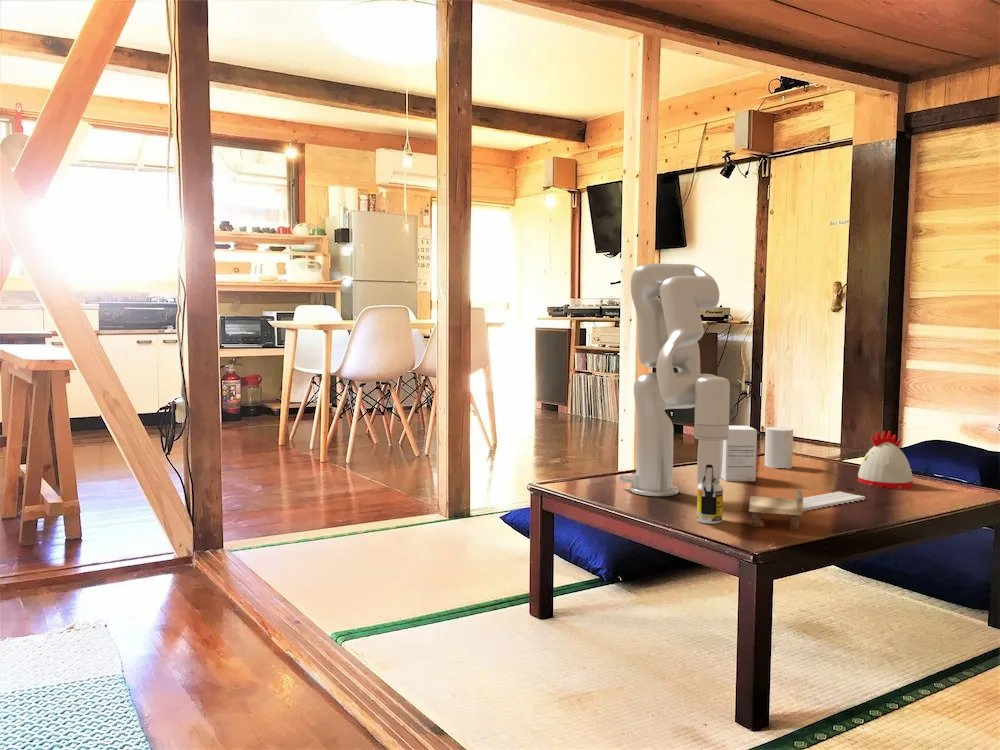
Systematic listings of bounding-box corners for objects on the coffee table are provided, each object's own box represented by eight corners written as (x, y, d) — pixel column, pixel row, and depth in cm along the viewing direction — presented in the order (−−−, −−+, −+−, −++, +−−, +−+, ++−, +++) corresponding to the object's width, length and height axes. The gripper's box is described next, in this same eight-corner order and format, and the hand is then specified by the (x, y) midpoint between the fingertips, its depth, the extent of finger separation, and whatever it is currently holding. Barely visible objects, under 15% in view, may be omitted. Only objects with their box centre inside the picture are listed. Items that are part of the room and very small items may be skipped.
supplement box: (716, 475, 237) (717, 425, 236) (746, 475, 237) (747, 425, 236) (724, 481, 228) (726, 429, 227) (756, 481, 228) (757, 429, 227)
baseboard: (753, 508, 197) (788, 517, 188) (754, 497, 196) (788, 505, 188) (830, 494, 213) (865, 502, 204) (831, 484, 213) (865, 491, 204)
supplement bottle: (715, 526, 177) (716, 480, 177) (692, 521, 181) (693, 477, 180) (726, 521, 182) (727, 476, 181) (703, 517, 185) (704, 473, 184)
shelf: (748, 527, 176) (749, 495, 176) (749, 516, 187) (750, 485, 186) (802, 531, 173) (803, 499, 172) (799, 519, 183) (800, 489, 183)
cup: (788, 470, 246) (789, 431, 245) (761, 467, 250) (762, 429, 249) (794, 466, 252) (796, 428, 252) (768, 463, 257) (769, 426, 256)
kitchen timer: (849, 479, 232) (851, 427, 231) (897, 479, 232) (899, 427, 231) (871, 488, 218) (873, 434, 217) (922, 489, 218) (924, 434, 217)
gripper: (697, 426, 189) (695, 501, 190) (691, 436, 173) (689, 518, 174) (730, 427, 187) (728, 503, 188) (727, 437, 170) (725, 521, 172)
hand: (709, 510), depth 181 cm, fingers open, 6 cm apart
